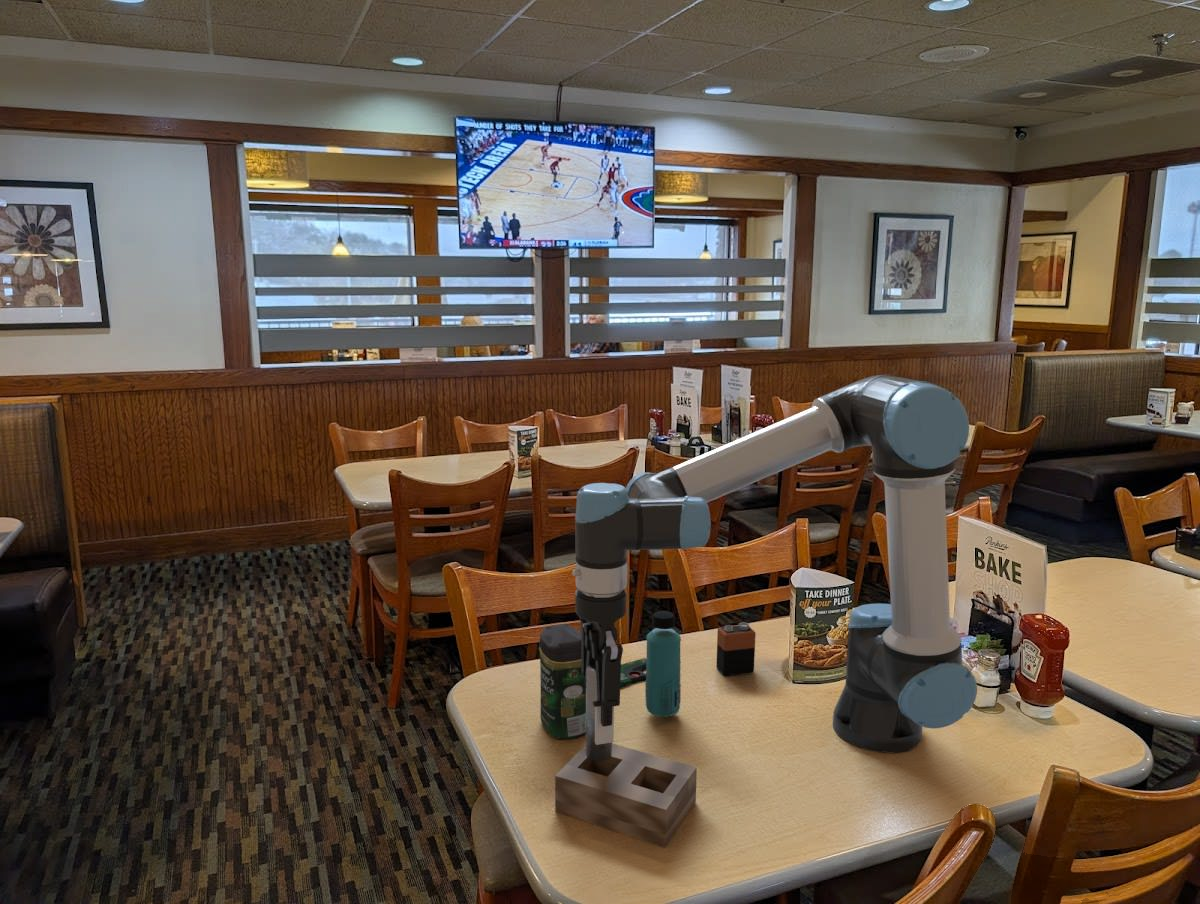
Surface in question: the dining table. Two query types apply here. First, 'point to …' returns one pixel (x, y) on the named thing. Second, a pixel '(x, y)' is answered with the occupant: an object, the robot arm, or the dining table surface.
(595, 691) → the steel peg
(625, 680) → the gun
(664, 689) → the beverage bottle
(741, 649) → the battery
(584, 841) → the dining table surface
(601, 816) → the peg block
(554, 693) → the coffee jar
